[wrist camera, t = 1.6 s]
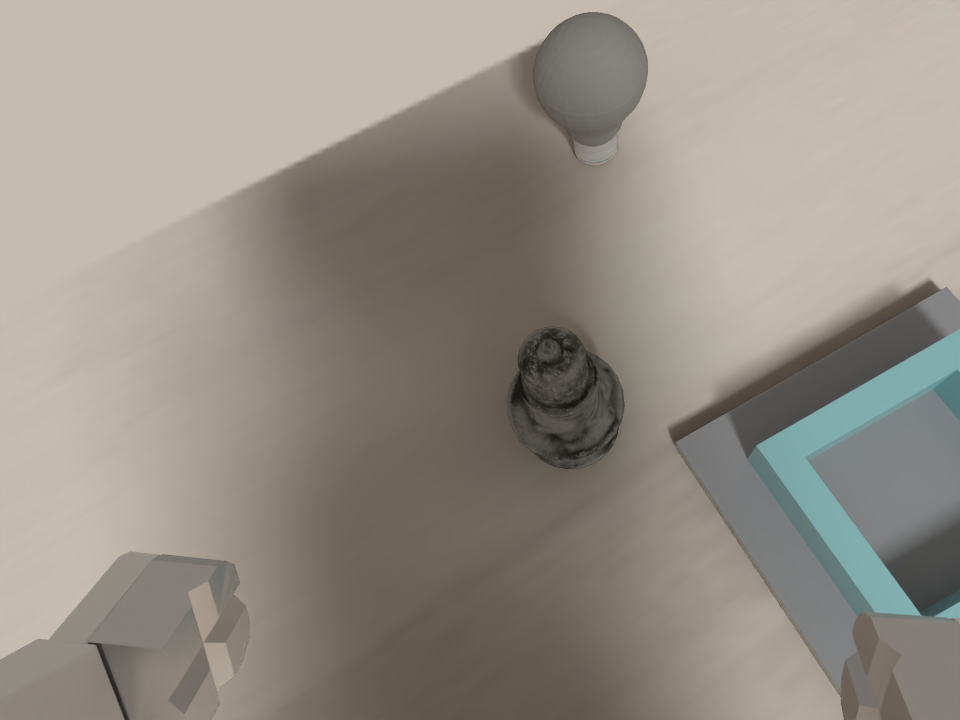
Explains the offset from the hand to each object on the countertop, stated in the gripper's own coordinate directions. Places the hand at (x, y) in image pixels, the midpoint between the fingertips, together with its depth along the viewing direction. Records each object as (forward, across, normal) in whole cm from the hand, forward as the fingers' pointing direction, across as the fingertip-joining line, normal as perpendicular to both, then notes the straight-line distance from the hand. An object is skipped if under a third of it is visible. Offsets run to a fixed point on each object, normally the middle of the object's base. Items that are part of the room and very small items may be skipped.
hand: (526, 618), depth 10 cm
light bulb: (+40, 0, +2) cm, 40 cm away
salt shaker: (+28, +1, +14) cm, 31 cm away
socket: (+24, -16, +16) cm, 33 cm away
